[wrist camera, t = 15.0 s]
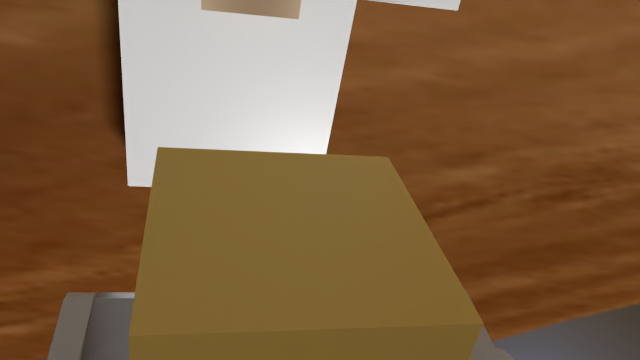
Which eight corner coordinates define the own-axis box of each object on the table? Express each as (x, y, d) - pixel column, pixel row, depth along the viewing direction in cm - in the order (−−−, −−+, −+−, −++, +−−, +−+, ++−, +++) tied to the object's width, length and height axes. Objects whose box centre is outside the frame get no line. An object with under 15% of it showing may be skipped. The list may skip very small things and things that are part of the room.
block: (388, 157, 12) (483, 324, 8) (349, 315, 15) (406, 503, 10) (157, 146, 11) (128, 336, 7) (158, 320, 13) (138, 535, 9)
